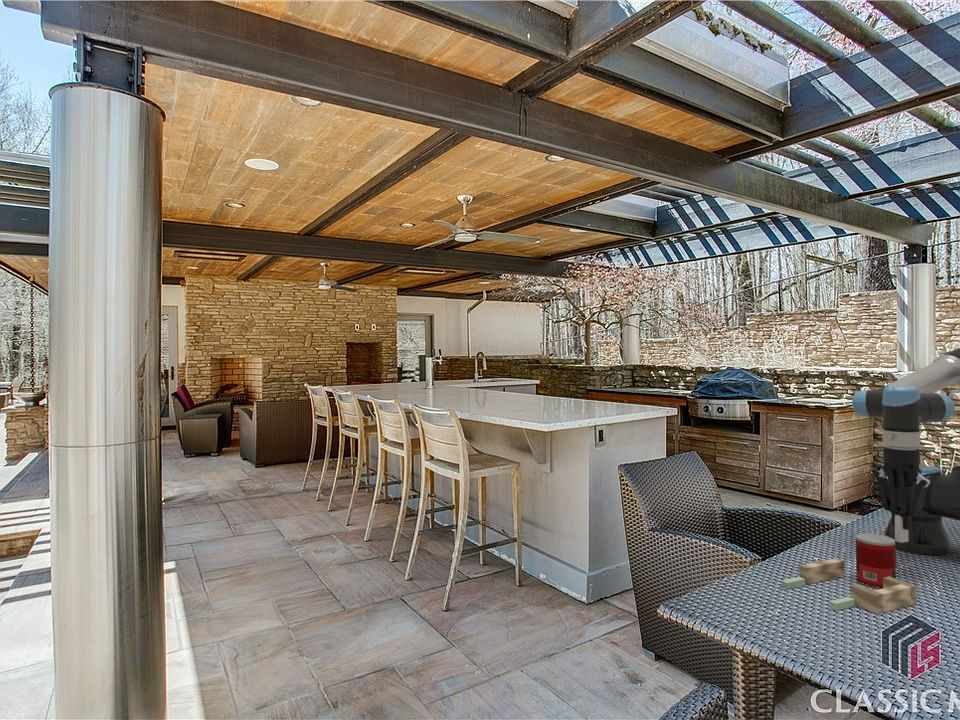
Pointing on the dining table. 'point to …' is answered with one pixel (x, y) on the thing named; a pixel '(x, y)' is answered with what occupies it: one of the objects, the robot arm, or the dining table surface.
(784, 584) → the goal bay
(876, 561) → the canned food
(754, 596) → the dining table surface
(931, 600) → the dining table surface
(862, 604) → the lane
